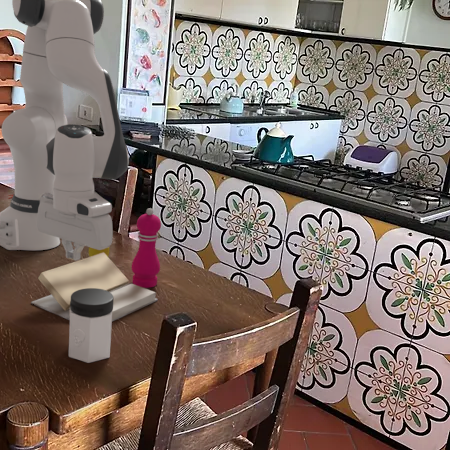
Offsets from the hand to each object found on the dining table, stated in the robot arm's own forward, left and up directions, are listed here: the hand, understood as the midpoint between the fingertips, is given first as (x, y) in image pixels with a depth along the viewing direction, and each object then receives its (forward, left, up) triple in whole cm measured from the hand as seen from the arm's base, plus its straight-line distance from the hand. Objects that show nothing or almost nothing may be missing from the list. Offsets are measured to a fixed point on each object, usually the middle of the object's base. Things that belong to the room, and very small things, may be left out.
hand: (73, 258), depth 141 cm
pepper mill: (+5, +21, -11) cm, 24 cm away
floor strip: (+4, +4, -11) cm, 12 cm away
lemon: (-12, +22, -11) cm, 27 cm away
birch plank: (0, +4, -7) cm, 8 cm away
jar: (+20, -14, -11) cm, 27 cm away
